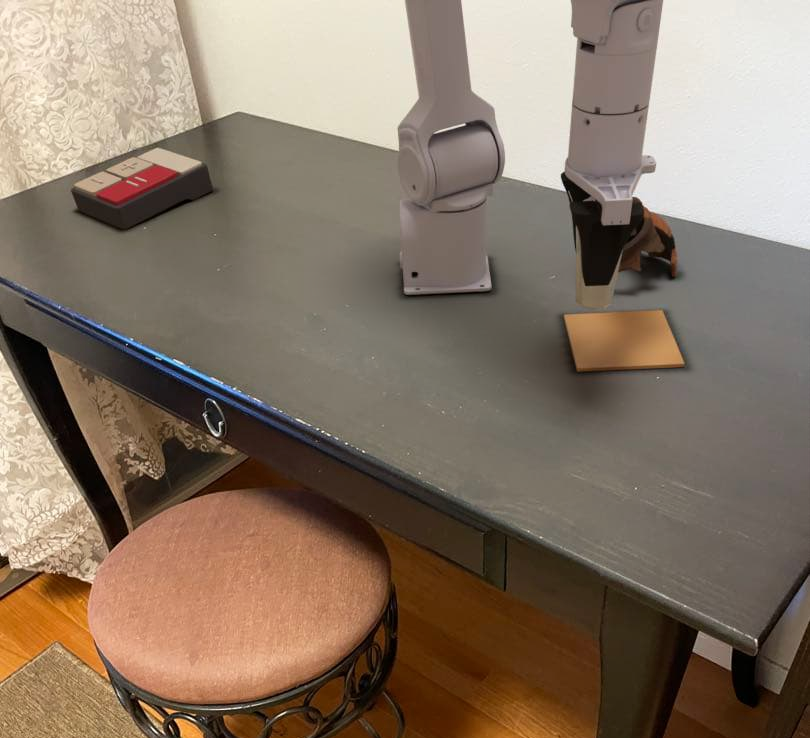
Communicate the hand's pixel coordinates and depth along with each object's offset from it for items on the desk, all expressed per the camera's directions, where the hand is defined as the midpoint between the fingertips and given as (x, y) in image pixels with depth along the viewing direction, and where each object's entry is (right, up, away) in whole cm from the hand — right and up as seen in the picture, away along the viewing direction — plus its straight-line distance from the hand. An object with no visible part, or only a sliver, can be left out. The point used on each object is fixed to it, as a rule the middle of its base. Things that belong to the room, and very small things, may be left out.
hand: (592, 270), depth 73 cm
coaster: (+5, -4, +10) cm, 12 cm away
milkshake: (0, -2, +2) cm, 3 cm away
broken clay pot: (+9, +7, +20) cm, 23 cm away
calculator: (-52, +23, +42) cm, 70 cm away
